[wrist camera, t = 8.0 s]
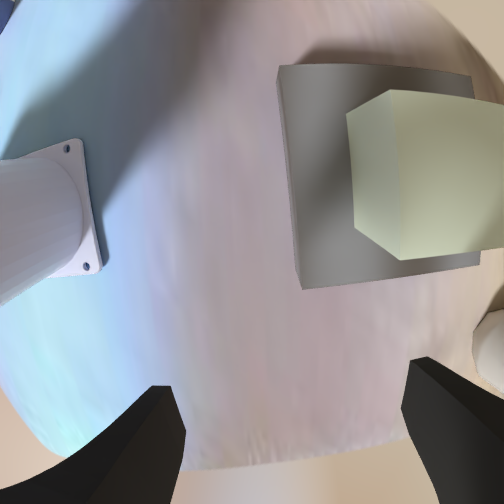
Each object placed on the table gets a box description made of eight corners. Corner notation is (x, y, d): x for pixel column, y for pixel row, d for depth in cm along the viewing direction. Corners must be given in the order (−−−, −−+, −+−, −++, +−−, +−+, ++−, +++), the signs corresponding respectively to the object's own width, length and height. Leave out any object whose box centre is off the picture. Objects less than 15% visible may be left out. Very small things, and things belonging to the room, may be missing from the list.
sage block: (354, 227, 14) (399, 260, 9) (346, 113, 12) (390, 89, 7) (447, 220, 13) (512, 246, 8) (442, 117, 12) (509, 106, 7)
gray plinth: (295, 268, 17) (302, 289, 14) (276, 82, 15) (279, 65, 12) (452, 250, 17) (479, 264, 14) (442, 86, 14) (470, 76, 11)
